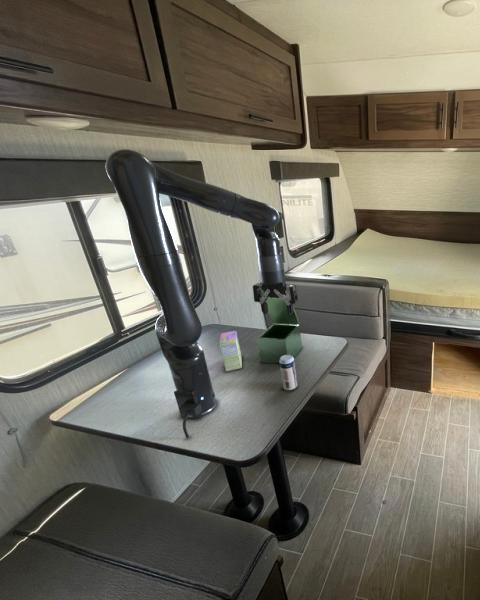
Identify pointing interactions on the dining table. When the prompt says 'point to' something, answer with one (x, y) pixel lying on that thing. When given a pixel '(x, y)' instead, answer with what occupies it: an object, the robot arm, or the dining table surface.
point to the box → (230, 350)
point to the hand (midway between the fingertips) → (278, 313)
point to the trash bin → (279, 342)
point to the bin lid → (280, 312)
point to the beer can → (288, 372)
